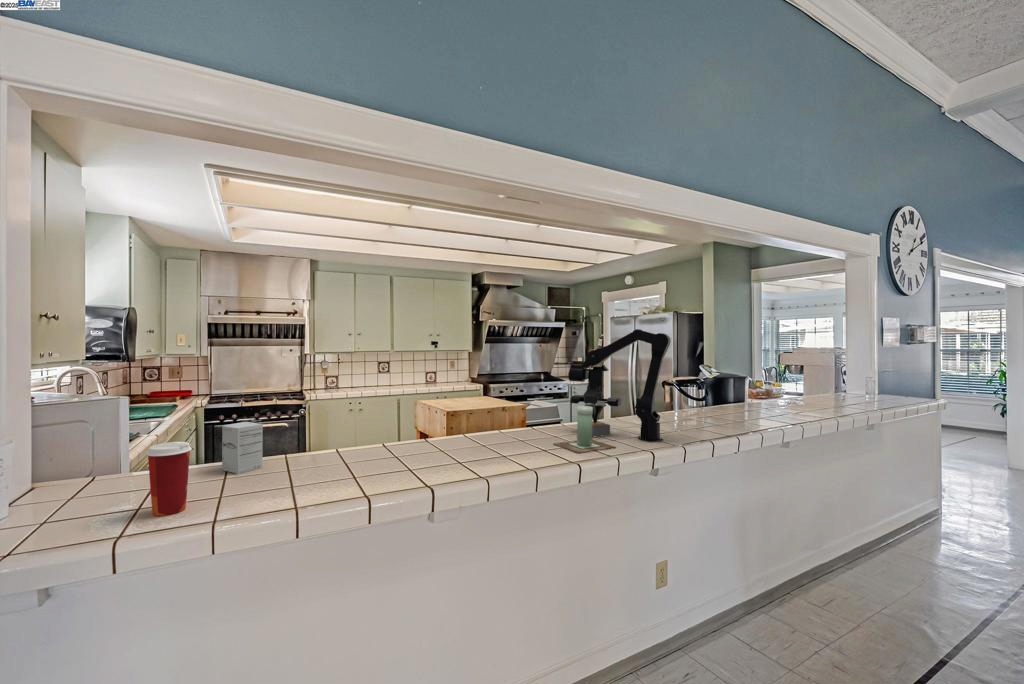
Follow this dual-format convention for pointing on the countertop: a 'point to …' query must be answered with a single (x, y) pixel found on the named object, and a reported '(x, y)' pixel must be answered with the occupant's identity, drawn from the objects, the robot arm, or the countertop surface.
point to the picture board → (581, 449)
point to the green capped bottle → (584, 426)
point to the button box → (601, 430)
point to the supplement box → (242, 447)
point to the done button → (597, 423)
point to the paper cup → (168, 477)
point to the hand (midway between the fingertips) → (595, 422)
